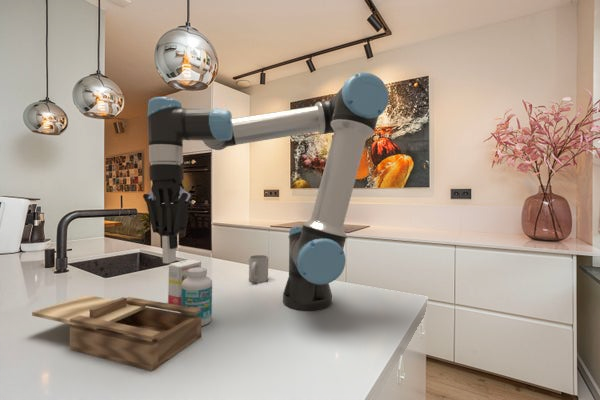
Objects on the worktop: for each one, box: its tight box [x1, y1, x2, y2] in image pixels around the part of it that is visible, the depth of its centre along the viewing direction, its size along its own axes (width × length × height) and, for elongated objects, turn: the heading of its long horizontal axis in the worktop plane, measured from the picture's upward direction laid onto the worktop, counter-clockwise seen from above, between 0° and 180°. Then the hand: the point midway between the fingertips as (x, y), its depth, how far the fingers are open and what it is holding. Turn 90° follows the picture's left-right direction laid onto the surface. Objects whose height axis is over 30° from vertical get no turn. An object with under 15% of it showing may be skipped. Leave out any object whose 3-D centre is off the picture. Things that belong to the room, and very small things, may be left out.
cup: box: [248, 254, 269, 284], centre depth 110 cm, size 7×10×9 cm
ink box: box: [167, 259, 202, 306], centre depth 90 cm, size 9×5×12 cm, turn 151°
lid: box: [31, 294, 147, 330], centre depth 69 cm, size 20×12×3 cm, turn 71°
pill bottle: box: [181, 266, 213, 327], centre depth 75 cm, size 8×7×14 cm
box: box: [69, 296, 202, 372], centre depth 64 cm, size 22×14×6 cm, turn 71°
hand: (169, 261), depth 71 cm, fingers closed
